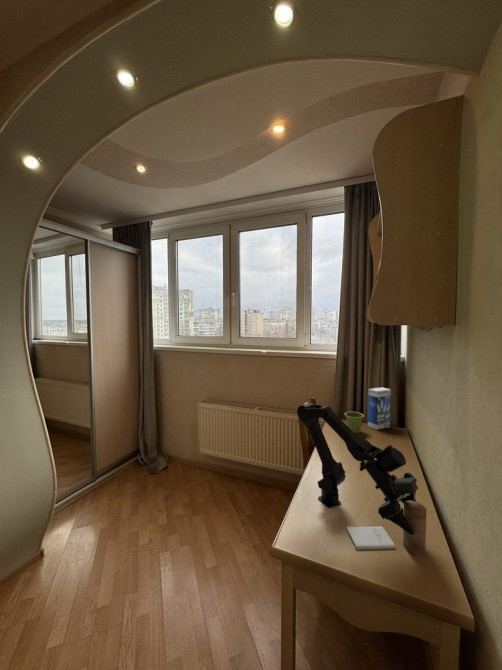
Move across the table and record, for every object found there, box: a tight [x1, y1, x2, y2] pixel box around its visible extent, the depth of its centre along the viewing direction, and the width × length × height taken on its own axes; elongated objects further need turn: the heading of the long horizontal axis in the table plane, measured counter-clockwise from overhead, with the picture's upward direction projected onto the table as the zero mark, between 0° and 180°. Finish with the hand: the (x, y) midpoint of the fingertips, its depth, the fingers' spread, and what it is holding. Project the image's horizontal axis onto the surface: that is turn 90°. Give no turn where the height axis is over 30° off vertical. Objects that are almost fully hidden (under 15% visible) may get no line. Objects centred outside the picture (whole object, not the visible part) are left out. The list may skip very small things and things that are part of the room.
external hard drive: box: [345, 526, 396, 550], centre depth 89 cm, size 2×8×12 cm
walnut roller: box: [402, 501, 427, 556], centre depth 85 cm, size 6×6×13 cm
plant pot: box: [344, 411, 365, 434], centre depth 175 cm, size 12×12×11 cm
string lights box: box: [367, 386, 392, 431], centre depth 184 cm, size 13×8×26 cm, turn 115°
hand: (418, 526), depth 84 cm, fingers open, 9 cm apart
